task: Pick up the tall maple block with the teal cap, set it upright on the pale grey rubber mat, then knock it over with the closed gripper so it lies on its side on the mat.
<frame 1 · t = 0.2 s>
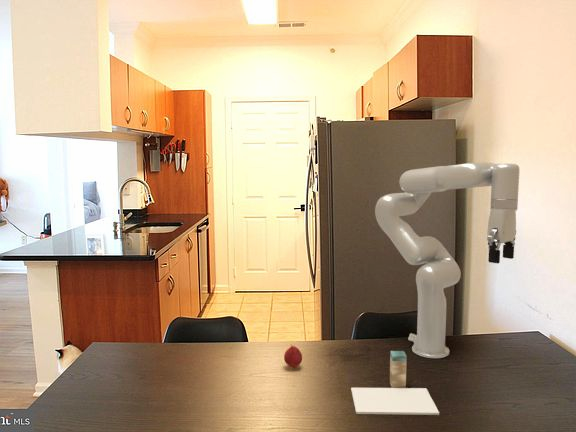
hand: (501, 260, 153), 36 cm above the table, tool pointing down, fingers open, 9 cm apart
block: (397, 385, 150), on the table
mat: (392, 401, 140), on the table
onion: (293, 368, 162), on the table
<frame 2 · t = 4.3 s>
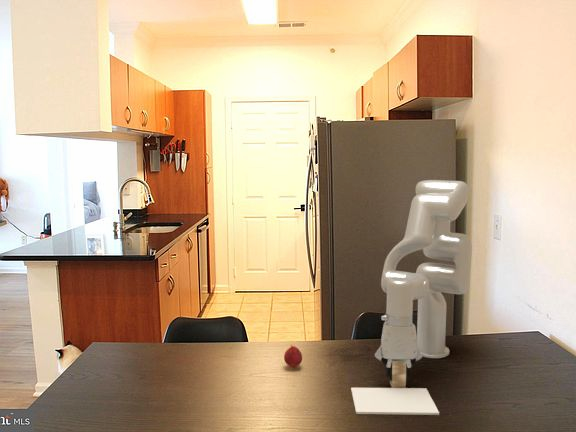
hand: (397, 378, 150), 2 cm above the table, tool pointing down, fingers closed on block, 4 cm apart
block: (397, 385, 150), on the table, touching gripper
everything else where it was.
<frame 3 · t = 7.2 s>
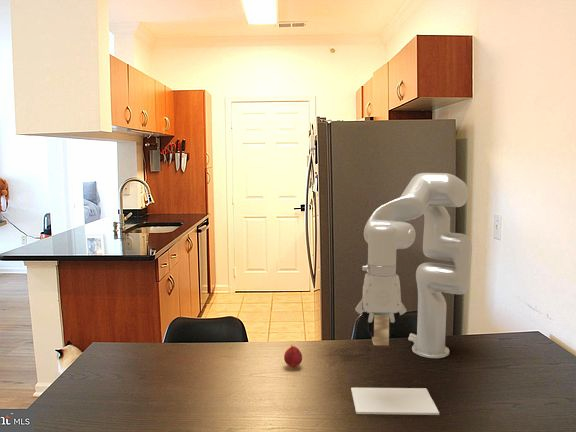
hand: (380, 334, 138), 19 cm above the table, tool pointing down, fingers closed on block, 4 cm apart
block: (380, 342, 138), point 17 cm above the table, touching gripper
everything else where it was.
when the fingers open (4 cm above the table, at t = 10.4 s): block drops 1 cm, resting on mat.
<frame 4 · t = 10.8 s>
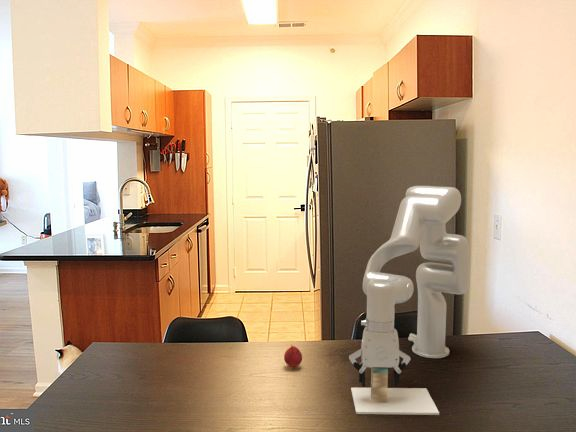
hand: (379, 384, 140), 5 cm above the table, tool pointing down, fingers open, 8 cm apart
block: (378, 399, 140), point 1 cm above the table, touching mat
everything else where it was.
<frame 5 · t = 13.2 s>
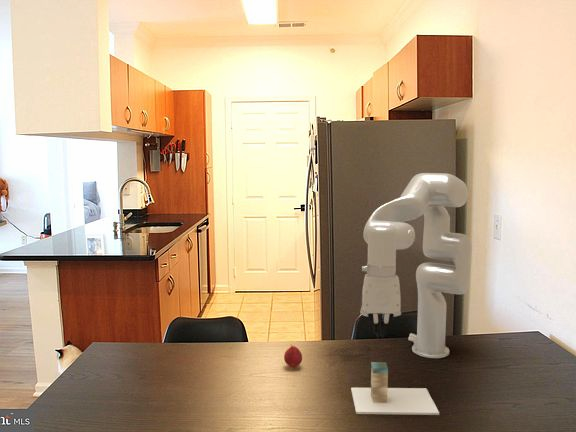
hand: (380, 335, 138), 19 cm above the table, tool pointing down, fingers closed
nothing on the table moved.
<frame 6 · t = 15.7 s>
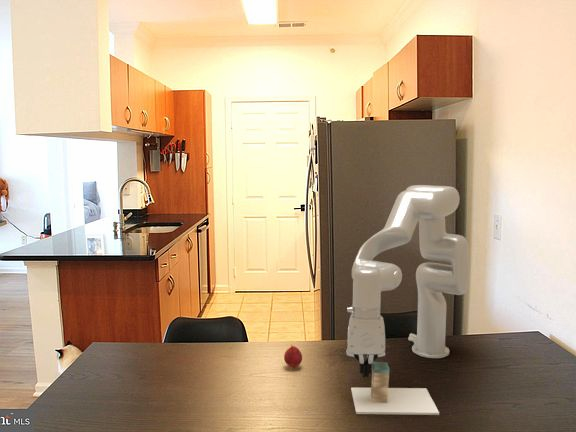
hand: (365, 375, 140), 8 cm above the table, tool pointing down, fingers closed
block: (378, 399, 140), point 1 cm above the table, touching gripper, mat
everything else where it was.
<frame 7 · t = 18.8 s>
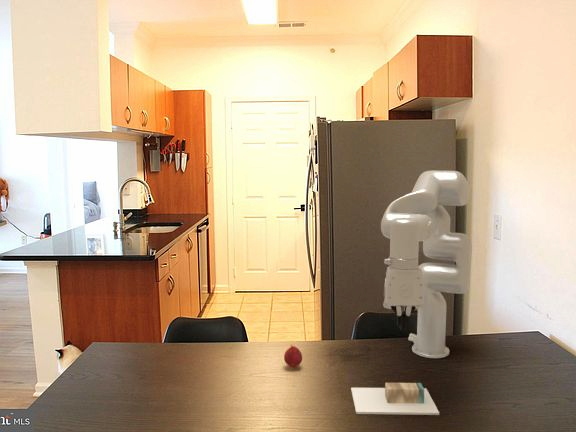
hand: (402, 328, 138), 21 cm above the table, tool pointing down, fingers closed
block: (386, 392, 140), point 3 cm above the table, tilted 90°, touching mat
everything else where it was.
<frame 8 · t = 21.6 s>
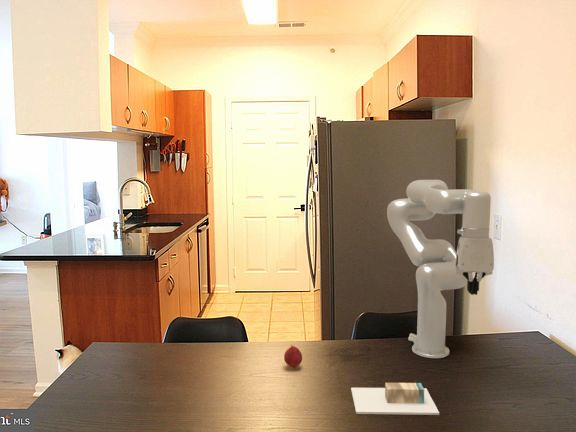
hand: (472, 293, 151), 27 cm above the table, tool pointing down, fingers closed
nothing on the table moved.
at the end: block tilted 90°; block touching mat; block 1.9 cm from the mat (horizontally) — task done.
